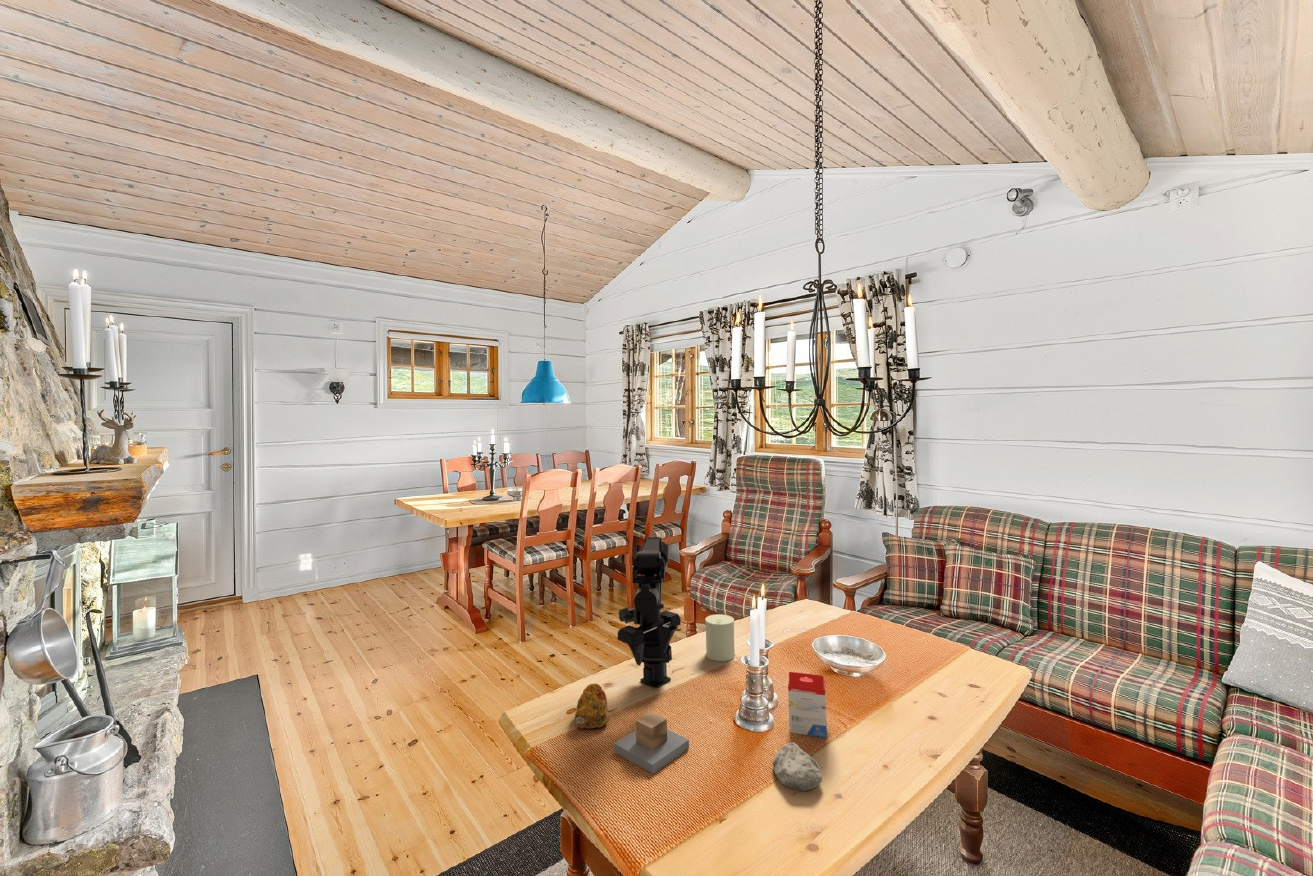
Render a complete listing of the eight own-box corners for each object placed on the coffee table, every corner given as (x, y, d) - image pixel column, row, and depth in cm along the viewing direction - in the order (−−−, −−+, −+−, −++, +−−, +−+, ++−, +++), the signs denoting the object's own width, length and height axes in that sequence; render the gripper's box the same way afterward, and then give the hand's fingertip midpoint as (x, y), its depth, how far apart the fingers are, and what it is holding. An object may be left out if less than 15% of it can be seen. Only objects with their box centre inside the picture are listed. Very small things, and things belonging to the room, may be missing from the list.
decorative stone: (837, 784, 112) (836, 759, 112) (797, 803, 106) (797, 778, 106) (793, 753, 122) (793, 731, 122) (756, 769, 117) (755, 746, 117)
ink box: (827, 727, 132) (826, 667, 131) (826, 739, 127) (825, 676, 127) (790, 722, 135) (789, 663, 134) (788, 733, 130) (787, 671, 130)
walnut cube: (651, 732, 128) (650, 711, 128) (667, 740, 125) (666, 719, 124) (636, 742, 124) (635, 720, 124) (652, 750, 121) (651, 728, 121)
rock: (612, 734, 139) (608, 721, 132) (580, 742, 138) (574, 730, 130) (605, 689, 146) (601, 675, 139) (574, 697, 145) (569, 683, 138)
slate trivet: (650, 729, 133) (650, 721, 133) (689, 748, 125) (688, 739, 125) (614, 752, 124) (614, 743, 124) (653, 774, 116) (652, 764, 116)
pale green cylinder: (704, 660, 170) (703, 622, 170) (707, 648, 179) (706, 612, 179) (734, 662, 169) (733, 623, 168) (735, 649, 178) (734, 613, 178)
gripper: (651, 586, 157) (652, 640, 157) (602, 603, 143) (603, 662, 143) (681, 593, 149) (682, 650, 149) (632, 612, 135) (634, 675, 136)
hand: (650, 659), depth 145 cm, fingers open, 9 cm apart
